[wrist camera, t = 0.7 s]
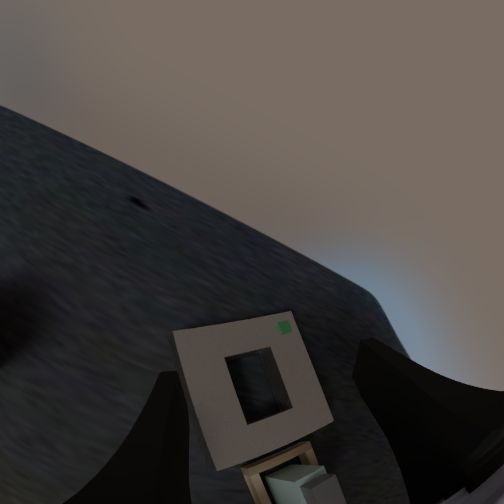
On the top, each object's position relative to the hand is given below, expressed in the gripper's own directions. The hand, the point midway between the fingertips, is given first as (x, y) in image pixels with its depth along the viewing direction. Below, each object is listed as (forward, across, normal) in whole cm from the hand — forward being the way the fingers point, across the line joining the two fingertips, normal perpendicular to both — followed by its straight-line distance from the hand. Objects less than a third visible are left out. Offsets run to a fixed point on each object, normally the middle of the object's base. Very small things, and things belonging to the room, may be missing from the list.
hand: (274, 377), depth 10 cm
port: (+10, 0, +12) cm, 16 cm away
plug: (+2, -2, +19) cm, 19 cm away
